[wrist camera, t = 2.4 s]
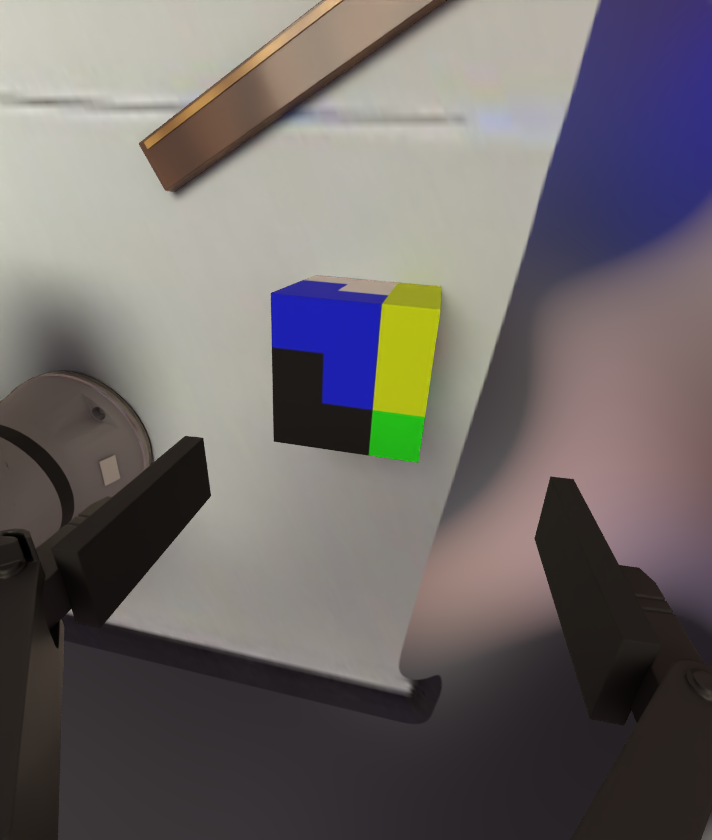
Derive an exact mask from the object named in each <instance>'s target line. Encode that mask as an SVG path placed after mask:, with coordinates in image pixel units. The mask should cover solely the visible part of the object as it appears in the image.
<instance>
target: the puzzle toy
mask: <svg viewBox="0 0 712 840" xmlns="http://www.w3.org/2000/svg"><path fill="white" fill-rule="evenodd" d="M440 310H441V287H440V286H429V285H418V284H407V283H396V282H385V281H373V280H362V279H351V278H340V277H329V276H318V275H315V276H312V277H310V278H307V279H305V280H302V281H300V282H297V283H295V284H292V285H290V286H287V287H285V288H282V289H280V290H277V291H275V292H272V293H271V322H272V373H273V424H274V442H281V443H288V444H295V445H301V446H308V447H315V448H322V449H328V450H335V451H342V452H349V453H356V454H362V455H369V456H376V457H383V458H390V459H396V460H403V461H410V462H417V463H418V461H419V454H420V448H421V441H422V434H423V427H424V420H425V413H426V406H427V399H428V392H429V386H430V379H431V372H432V365H433V358H434V351H435V344H436V337H437V330H438V324H439V317H440Z"/></svg>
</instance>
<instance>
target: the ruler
mask: <svg viewBox="0 0 712 840" xmlns="http://www.w3.org/2000/svg"><path fill="white" fill-rule="evenodd" d="M445 1H447V0H322V1H321V2H319V3H318V4H317V5H315V6H314V7H313V8H312V9H310V10H309V11H308V12H307V13H305V14H304V15H303V16H301V17H300V18H299V19H298V20H296V21H295V22H294V23H292V24H291V25H290V26H289V27H287V28H286V29H285V30H283V31H282V32H281V33H280V34H278V35H277V36H276V37H274V38H273V39H272V40H271V41H269V42H268V43H267V44H266V45H264V46H263V47H262V48H260V49H259V50H258V51H257V52H255V53H254V54H253V55H251V56H250V57H249V58H248V59H246V60H245V61H244V62H242V63H241V64H240V65H239V66H237V67H236V68H235V69H233V70H232V71H231V72H230V73H228V74H227V75H226V76H225V77H223V78H222V79H221V80H219V81H218V82H217V83H216V84H214V85H213V86H212V87H210V88H209V89H208V90H207V91H205V92H204V93H203V94H201V95H200V96H199V97H198V98H196V99H195V100H194V101H192V102H191V103H190V104H189V105H187V106H186V107H185V108H184V109H182V110H181V111H180V112H178V113H177V114H176V115H175V116H173V117H172V118H171V119H169V120H168V121H167V122H166V123H164V124H163V125H162V126H160V127H159V128H158V129H157V130H155V131H154V132H153V133H151V134H150V135H149V136H148V137H146V138H145V139H144V140H143V141H141V142H140V143H139V145H140V147H141V149H142V150H143V152H144V154H145V156H146V157H147V159H148V161H149V163H150V164H151V166H152V168H153V170H154V172H155V173H156V175H157V177H158V179H159V180H160V182H161V184H162V186H163V187H164V189H165V191H172V192H174V191H176V190H177V189H179V188H180V187H181V186H183V185H184V184H186V183H187V182H189V181H190V180H191V179H193V178H194V177H196V176H197V175H199V174H200V173H201V172H203V171H204V170H206V169H207V168H209V167H210V166H211V165H213V164H214V163H216V162H217V161H219V160H220V159H221V158H223V157H224V156H226V155H227V154H229V153H230V152H231V151H233V150H234V149H236V148H237V147H238V146H240V145H241V144H243V143H244V142H246V141H247V140H248V139H250V138H251V137H253V136H254V135H256V134H257V133H258V132H260V131H261V130H263V129H264V128H266V127H267V126H268V125H270V124H271V123H273V122H274V121H276V120H277V119H278V118H280V117H281V116H283V115H284V114H286V113H287V112H288V111H290V110H291V109H293V108H294V107H296V106H297V105H298V104H300V103H301V102H303V101H304V100H306V99H307V98H308V97H310V96H311V95H313V94H314V93H315V92H317V91H318V90H320V89H321V88H323V87H324V86H325V85H327V84H328V83H330V82H331V81H333V80H334V79H335V78H337V77H338V76H340V75H341V74H343V73H344V72H345V71H347V70H348V69H350V68H351V67H353V66H354V65H355V64H357V63H358V62H360V61H361V60H363V59H364V58H365V57H367V56H368V55H370V54H371V53H373V52H374V51H375V50H377V49H378V48H380V47H381V46H383V45H384V44H385V43H387V42H388V41H390V40H391V39H393V38H394V37H395V36H397V35H398V34H400V33H401V32H402V31H404V30H405V29H407V28H408V27H410V26H411V25H412V24H414V23H415V22H417V21H418V20H420V19H421V18H422V17H424V16H425V15H427V14H428V13H430V12H431V11H432V10H434V9H435V8H437V7H438V6H440V5H441V4H442V3H444V2H445Z"/></svg>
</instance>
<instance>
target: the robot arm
mask: <svg viewBox="0 0 712 840" xmlns="http://www.w3.org/2000/svg"><path fill="white" fill-rule="evenodd" d="M210 496H211V493H210V485H209V478H208V470H207V463H206V456H205V448H204V441H203V438H198V437H189V436H185V437H183V438H182V439H181V440H180V441H179V442H177V443H176V444H175V445H174V446H173V447H172V448H170V449H169V450H168V451H167V452H166V453H164V454H163V455H162V456H161V457H160V458H158V459H157V460H156V461H155V462H154V463H152V453H151V447H150V442H149V439H148V436H147V434H146V431H145V429H144V427H143V425H142V423H141V421H140V420H139V418H138V417H137V415H136V414H135V413H134V411H133V410H132V409H131V407H130V406H129V405H128V404H127V403H126V402H125V401H124V400H123V399H122V398H121V397H120V396H119V395H118V394H117V393H116V392H114V391H113V390H112V389H110V388H109V387H107V386H106V385H104V384H103V383H101V382H99V381H97V380H95V379H93V378H91V377H89V376H86V375H83V374H80V373H76V372H70V371H53V372H48V373H45V374H42V375H39V376H37V377H34V378H32V379H29V380H27V381H26V382H24V383H23V384H21V385H19V386H18V387H16V388H15V389H14V390H13V391H12V392H11V393H10V394H9V395H8V396H7V397H6V398H5V399H3V400H2V401H1V402H0V840H58V816H59V782H60V750H61V717H62V716H61V714H62V684H63V682H62V681H63V650H64V625H63V622H62V620H61V619H62V618H63V617H64V616H65V615H66V614H67V613H68V611H69V610H70V609H72V612H73V614H74V617H75V620H76V623H77V624H83V625H88V626H93V627H99V628H101V627H102V625H103V624H104V623H105V622H106V621H107V619H108V618H109V617H110V616H111V615H112V613H113V612H114V611H115V610H116V609H117V608H118V606H119V605H120V604H121V603H122V602H123V600H124V599H125V598H126V597H127V596H128V594H129V593H130V592H131V591H132V590H133V588H134V587H135V586H136V585H137V584H138V582H139V581H140V580H141V579H142V578H143V576H144V575H145V574H146V573H147V572H148V571H149V569H150V568H151V567H152V566H153V565H154V563H155V562H156V561H157V560H158V559H159V557H160V556H161V555H162V554H163V553H164V551H165V550H166V549H167V548H168V547H169V545H170V544H171V543H172V542H173V541H174V539H175V538H176V537H177V536H178V535H179V534H180V532H181V531H182V530H183V529H184V528H185V526H186V525H187V524H188V523H189V522H190V520H191V519H192V518H193V517H194V516H195V514H196V513H197V512H198V511H199V510H200V508H201V507H202V506H203V505H204V504H205V502H206V501H207V500H208V499H209V498H210ZM535 541H536V544H537V548H538V551H539V555H540V558H541V561H542V564H543V568H544V571H545V574H546V577H547V581H548V584H549V587H550V590H551V594H552V597H553V600H554V604H555V607H556V610H557V613H558V617H559V620H560V623H561V626H562V630H563V633H564V636H565V639H566V642H567V646H568V649H569V653H570V656H571V659H572V662H573V665H574V669H575V672H576V676H577V679H578V682H579V685H580V689H581V692H582V695H583V698H584V701H585V705H586V708H587V711H588V714H589V718H590V719H592V720H598V721H603V722H609V723H614V724H619V725H624V724H625V722H626V720H627V718H628V716H629V714H630V712H631V710H632V712H633V714H634V717H635V720H636V722H637V725H636V726H635V728H634V730H633V732H632V734H631V735H630V737H629V739H628V741H627V742H626V744H625V746H624V748H623V749H622V751H621V753H620V755H619V756H618V758H617V760H616V762H615V763H614V765H613V767H612V768H611V770H610V772H609V774H608V775H607V777H606V779H605V781H604V782H603V784H602V786H601V788H600V789H599V791H598V793H597V795H596V796H595V798H594V800H593V802H592V803H591V805H590V807H589V809H588V811H587V812H586V814H585V816H584V817H583V819H582V821H581V823H580V824H579V826H578V828H577V829H576V831H575V833H574V835H573V836H572V838H571V840H701V838H702V835H703V832H704V829H705V827H706V824H707V821H708V818H709V815H710V812H711V810H712V667H711V666H709V665H707V664H705V663H704V662H703V661H702V659H701V657H700V656H699V654H698V652H697V651H696V649H695V647H694V646H693V644H692V642H691V641H690V639H689V638H688V636H687V634H686V633H685V631H684V629H683V628H682V626H681V624H680V623H679V621H678V619H677V618H676V616H675V615H674V614H673V613H672V612H673V611H672V609H671V608H670V606H669V605H668V603H667V601H665V598H664V596H663V595H662V593H661V591H660V590H659V588H658V586H657V585H656V583H655V582H654V581H653V580H652V579H651V578H649V576H647V575H646V574H645V573H644V572H643V571H642V570H641V569H640V568H636V567H629V566H622V565H619V564H618V563H617V561H616V559H615V557H614V555H613V553H612V551H611V549H610V547H609V546H608V544H607V542H606V540H605V538H604V536H603V534H602V532H601V530H600V528H599V527H598V525H597V523H596V521H595V519H594V517H593V516H592V513H591V511H590V510H589V508H588V506H587V504H586V502H585V500H584V498H583V496H582V495H581V493H580V491H579V489H578V487H577V485H576V483H575V482H574V479H566V478H557V477H550V480H549V484H548V488H547V492H546V496H545V500H544V504H543V508H542V512H541V516H540V520H539V524H538V527H537V531H536V535H535Z"/></svg>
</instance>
